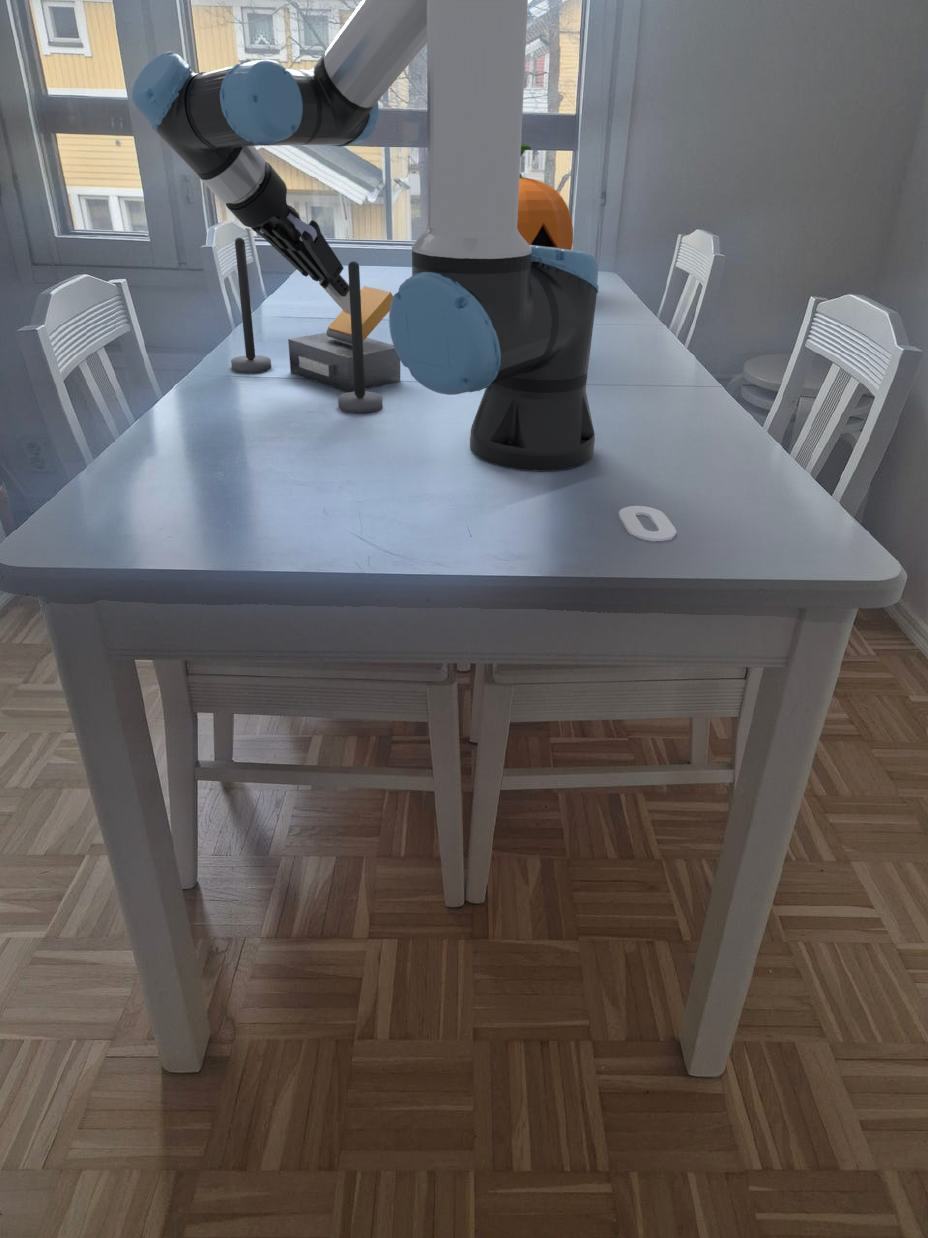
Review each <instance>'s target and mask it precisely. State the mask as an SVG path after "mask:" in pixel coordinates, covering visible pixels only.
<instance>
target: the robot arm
mask: <svg viewBox="0 0 928 1238" xmlns="http://www.w3.org/2000/svg"><path fill="white" fill-rule="evenodd" d="M528 5H529V0H361V1H360V2H359V4H358V5H357V6H356V8H355V9H354V11H353V12H352V14H351V15H350V16H349V18H348V19H347V21H346V22H345V24H344V25H343V26H342V28H341V29H340V30H339V32H338V33H337V35H336V36H335V37H334V39H333V40H332V42H331V43H330V44H329V46H328V47H327V48H326V50H325V51H324V53H323V54H322V55H321V56H320V58H319V59H318V60H317V62H316V63H315V64H314V65H313V67H312V68H311V69H309V70H308V69H297V68H295V69H294V68H293V69H292V68H285V67H284V66H283V65H282V64H280V62H277V61H275V60H273V59H261V60H250V59H247V60H243V61H241V62H240V63H236V64H233V65H230V66H227V67H226V66H225V67H223V68H219V69H214V70H211V71H210V70H209V71H207V72H206V71H205V72H203V71H202V72H198V73H195V70H193V69H192V68H193V67H192V65H190V64H189V63H187V62H186V61H185V60H184V58H183V57H181V55H179V54H178V53H176V52H173V51H166V52H165V51H164V52H163V53H160V54H158V55H157V56H155V57H154V58H153V59H151V60H150V61H149V62H148V63H147V64H146V65H145V66H144V67H143V69H141V71H140V72H139V74H138V75H137V78H136V79H135V80H134V83H133V86H132V91H131V99H132V103H133V104H134V106H135V107H136V109H137V110H138V111H139V112H140V114H142V116H143V117H144V118H145V120H147V122H148V123H149V124H150V125H151V127H152V130H153V131H154V132H156V133H157V134H158V135H159V136H160V137H161V139H163V140H164V141H165V143H166V144H167V145H169V146H170V148H171V149H173V151H174V152H175V153H176V154H177V155H178V156H179V157H180V158H181V159H182V160H183V161H184V163H186V165H188V167H190V169H192V171H193V172H194V173H196V174H197V176H198V179H200V180H201V181H202V183H203V184H204V185H205V186H206V187H207V188H208V189H209V190H210V191H211V192H212V193H213V195H214V196H215V197H216V198H217V199H218V200H219V201H220V202H222V203H224V204H225V206H226V208H227V209H228V210H229V211H230V212H231V213H232V214H233V216H235V217H236V219H237V220H239V221H240V223H241V224H242V225H243V226H245V227H247V228H250V229H251V230H252V231H253V232H255V233H256V234H257V235H259V236H260V237H261V238H263V239H264V240H265V241H266V242H268V243H269V245H271V247H272V248H274V249H275V250H276V251H277V253H279V254H280V255H281V257H283V258H285V260H287V261H288V262H289V263H290V264H291V265H292V266H293V267H294V268H295V269H296V270H297V271H298V272H299V273H300V274H301V275H302V276H304V277H308V276H309V277H310V278H311V279H312V280H313V281H314V282H318V284H319V285H320V286H321V287H322V288H323V290H324V291H325V292H326V293H327V294H328V295H329V296H330V297H331V298H332V300H333V301H334V302H335V303H336V304H337V305H338V306H339V308H340V309H341V311H344V312H345V313H347V314H351V312H350V293H349V282H347V281H346V280H345V278H344V277H343V276H342V275H341V273H342V272H343V270H344V266H343V265H342V263H341V261H340V260H339V258H338V257H337V255H336V253H335V251H333V249H332V248H331V246H330V245H329V243H328V242H327V240H326V238H325V237H324V235H323V234H322V231H321V229H320V224H318V223H317V222H316V221H315V220H313V219H312V220H310V221H309V222H308V223H306V222H304V221H303V220H302V219H301V218H300V215H299V213H298V212H297V210H296V209H295V208H294V207H293V206H291V205H289V204H288V203H287V202H288V201H287V194H288V192H287V191H288V187H287V184H286V183H285V181H284V179H282V177H281V176H280V175H279V174H278V172H277V171H276V170H275V169H274V168H273V166H272V165H271V164H270V163H268V162H267V161H266V160H265V158H264V156H263V155H262V154H261V153H260V151H259V150H258V149H257V148H256V146H258V147H259V146H264V147H265V146H266V147H267V146H277V147H278V146H326V147H327V146H329V147H330V146H332V147H340V148H341V147H347V146H349V145H358V144H361V143H364V142H366V141H367V140H368V139H369V138H370V137H371V136H372V134H373V133H374V131H375V130H376V124H377V120H378V119H379V111H380V110H379V101H380V99H381V98H382V97H383V96H384V94H385V93H386V92H387V91H388V90H389V89H390V87H391V86H392V85H394V83H395V82H396V80H397V79H398V78H399V77H400V75H401V74H403V72H404V71H405V69H406V68H407V67H408V66H409V65H410V63H411V62H412V61H414V59H415V57H417V55H418V54H419V53H420V51H422V49H423V48H424V47H425V46H427V47H426V48H427V49H426V59H427V60H426V63H427V67H426V68H427V69H426V70H427V71H426V72H427V74H426V77H427V81H426V82H427V85H426V87H427V88H426V89H427V91H426V93H427V95H426V99H427V100H426V102H427V103H426V104H427V106H426V109H427V114H426V115H427V117H426V120H427V121H426V122H427V123H426V126H427V132H426V133H427V138H426V139H427V140H426V141H427V143H426V144H427V146H426V147H427V151H426V153H427V160H426V161H427V166H426V167H427V224H426V229H425V230H424V231H423V233H421V235H420V236H419V237H418V238H417V239H416V240H415V242H414V243H413V244H412V245H411V276H410V277H408V278H406V279H405V280H404V281H403V282H402V283H401V284H400V285H399V287H398V291H396V293H394V294H393V299H392V302H391V305H390V311H389V312H388V314H389V315H388V324H389V326H388V327H389V332H390V338H391V341H392V345H394V348H395V350H396V353H397V355H398V357H399V359H400V363H402V365H403V366H404V367H405V368H407V369H408V370H409V372H410V375H411V376H412V377H413V378H414V379H415V381H416V382H418V383H419V384H421V385H422V386H423V387H425V388H426V389H428V390H430V391H432V392H434V393H438V394H440V395H441V394H442V395H449V396H450V395H451V396H452V395H461V394H464V393H473V392H480V391H482V390H484V391H483V395H482V397H481V401H480V403H479V405H478V408H477V411H476V413H475V416H474V419H473V421H472V424H471V427H470V428H471V429H470V433H469V434H470V438H469V440H470V442H469V449H470V450H471V452H472V453H473V454H474V455H475V456H477V457H478V458H480V459H481V460H483V461H485V462H488V463H490V464H493V465H497V466H499V467H505V468H509V469H515V470H520V471H521V470H522V471H536V472H540V471H541V472H542V471H543V472H546V471H549V472H550V471H561V470H567V469H572V468H575V467H578V466H581V465H583V464H585V463H588V462H589V461H590V460H591V459H592V458H593V456H594V452H595V450H594V449H595V441H596V433H595V429H594V424H593V419H592V416H591V415H592V414H591V411H590V410H591V409H590V404H589V400H588V394H587V382H588V381H587V380H588V372H589V363H590V355H591V347H592V339H593V338H592V337H593V329H594V322H595V313H596V303H597V296H598V294H599V284H598V279H599V264H598V263H599V262H598V260H597V258H596V257H595V256H594V254H592V253H590V252H586V251H581V250H574V249H573V250H567V249H560V248H552V247H544V246H536V245H529V244H528V243H527V242H526V241H525V239H524V238H523V237H522V236H521V234H520V233H519V231H518V229H517V221H518V199H519V178H520V174H521V157H522V155H521V144H522V132H523V131H522V128H523V112H524V111H523V110H524V109H523V108H524V93H525V92H524V90H525V89H524V88H525V71H526V70H525V68H526V48H527V47H526V45H527V44H526V43H527V26H528V25H527V23H528ZM426 44H427V45H426ZM520 156H521V157H520Z"/></svg>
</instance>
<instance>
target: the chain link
mask: <svg viewBox="0 0 928 1238" xmlns="http://www.w3.org/2000/svg"><path fill="white" fill-rule="evenodd" d="M636 514H646V515H648V516H649V517H650V518H651V519H652V521H653V523H654V524H655V525H656V526H657V528H658V529H659V530H655V531H653V530H652V531H651V530H648V529H645V527H644V526H643V525H642V523H641V521H640V520H639V518H638V517H637V516H636ZM649 517H648V518H649ZM619 518H620V519H621V520H620V519H619ZM650 518H649V519H650ZM618 519H619V520H620V522H621V521H622V522H621V524H622V523H623V524H624V525H623V524H622V525H623V527H624V526H625V527H624V528H625V530H626V529H627V530H628V531H630V533H633V534H634V535H636V536H639V537H643V538H649V539H656V540H657V539H666V538H670V537H672V536H674V535H675V534H677V529H676V527H675V526H674V525H673V524H672V522H671V521H670V519H669V518H668V517H667V515H666V514H665V512H663V511H661V510H659V509H658V508H653V507H650V506H645V505H643V506H642V505H630V506H625V507H623V508H621V509H620V510H619V511H618ZM652 521H651V522H652ZM653 523H652V524H653ZM654 524H653V525H654ZM657 528H656V529H657ZM627 530H626V531H627Z"/></svg>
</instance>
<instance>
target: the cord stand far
mask: <svg viewBox="0 0 928 1238" xmlns="http://www.w3.org/2000/svg"><path fill="white" fill-rule="evenodd" d="M245 241H246V240H245V239H244V238H242V237H236V239H235V240H234V247H235V258H236V267H237V268H236V269H237V279H238V288H239V289H238V290H239V296H240V297H239V298H240V308H241V309H240V310H241V319H242V329H243V330H242V331H243V340H244V349H245V350H244V351H245V355H240V356H235V357H233V358H231V360H230V362H231V369H232V371H234V372H236V373H237V372H238V373H243V374H246V373H247V374H260V373H265V372H269V371H270V370H271V369H272V360H271V359H272V358H270V357H268V356H265V355H259V354H257V355H256V349H255V348H256V347H255V339H254V329H253V328H254V326H253V315H252V309H251V308H252V307H251V305H252V304H251V296H250V295H251V294H250V285H249V273H248V263H247V261H248V260H247V254H246V253H247V252H246V243H245Z"/></svg>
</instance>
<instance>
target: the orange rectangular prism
mask: <svg viewBox="0 0 928 1238" xmlns="http://www.w3.org/2000/svg"><path fill="white" fill-rule="evenodd" d="M360 293H361V315H362V337H363V341H364V340H365V339H366V338H368V336H369V335H370V334H371V333H372V332H373V331H374V329H375V328H377V326H378V325H379V323H381V321H382V320H383V319H384V318H385V317H386V316H387V315H388V314H389V312H390V305H391V302H392V299H393V296H394V294H393V293H392V292H391V291H388V290H384V289H380V288H379V289H378V288H374V287H370V286H365V285H364V286H363V287H361V288H360ZM325 333H326V334H327V336H328V337H331V338H334V339H337V340H341V341H344V342H348V343H351V344H352V331H351V314H347V313H345V312H344V311H343V310H341V312H340V313H339V314H338V315H337V316H336V317H335V318H334V319H333V321H332V322H331V323H330V324H329V325H328V327H327V329H326V331H325Z"/></svg>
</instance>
